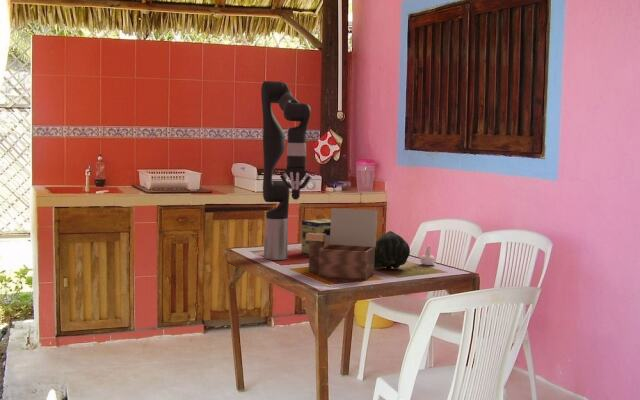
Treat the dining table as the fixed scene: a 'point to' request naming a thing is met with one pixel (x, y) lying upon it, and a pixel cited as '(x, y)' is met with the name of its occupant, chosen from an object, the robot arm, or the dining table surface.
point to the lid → (353, 227)
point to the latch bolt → (315, 237)
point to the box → (341, 261)
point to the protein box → (312, 231)
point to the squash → (391, 251)
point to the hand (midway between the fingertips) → (295, 199)
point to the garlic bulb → (427, 258)
